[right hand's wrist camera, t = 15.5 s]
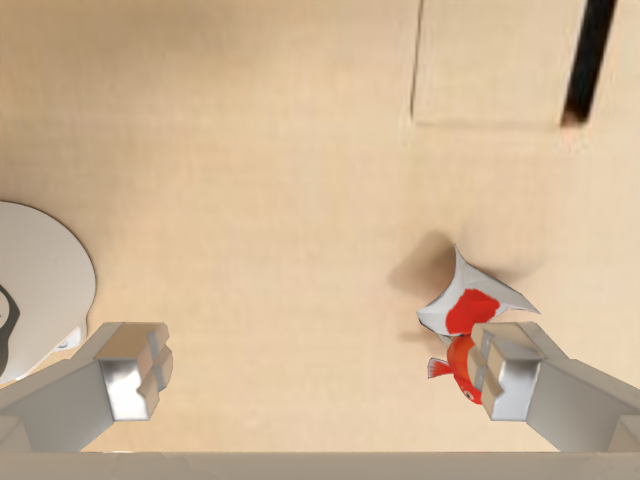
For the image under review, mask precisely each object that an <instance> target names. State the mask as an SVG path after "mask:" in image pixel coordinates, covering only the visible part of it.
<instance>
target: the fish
mask: <svg viewBox="0 0 640 480" xmlns="http://www.w3.org/2000/svg"><path fill="white" fill-rule="evenodd" d="M455 251H456V267H455V274H454V278H453V280H452V281H451V283H450V285H449V286H448V288H447V289H446V290H445V291H444V292H443V293H442V294H441V295H440V296H439V297H438V298H437V299H435V300H434V301H433V302H431V303H430V304H428V305H427V306H426V307H424V308H422V309H420V310H418V311H416V313H417V316H418V318H419V321H420V323H421V324H422V325H423V326H425V327H427V328H428V329H430V330H431V331H433V332H436V333H439V335H438V336H439V338H440V339H441V340H442V341H443V343H444V344H445V345H446V347H447V348H448V350H447V361H448V362H446V361H443V360H440V359H436V358H431V359H430V361H429V364H428V378H433V377H436V376H441V375H445V374H454V378H455V380H456V382H457V383H458V385H459V387H460V389H461V391H462V392H463V393H464V395H465V396H466V397H467V398H468V399H469V400H471V401H472V402H474V403H476V404H480V405H483V404H482V402H481V394H482V393H481V392H480V391H478V390H477V389H476V388H474V387H473V385H472V383H471V381H470V377H469V374H468V367H467V358H468V351H469V350H470V349H471V348H472V347H473V346H474V345H475V343H474V341H473V340H472V338H471V332H472V328H473V326H474V324H475V323H489V322H490V321H491V320H492V319H493V318H494V317H495V316H497V315H499V314H501V313H502V312H504V311H505V310H507V309H517V310H528V311H531V312H535V313H539V314H541V313H540V312H539V311H538V310H537V309H536V308H535V307H534V306H533V305H532V304H531V303H530V302H529V301H528V300H527V299H526V298H525V297H524V296H523V295H522V294H520V293H519V292H517V291H515V290H514V289H512V288H511V287H509V286H507V285H506V284H504V283H502V282H501V281H499V280H497V279H495V278H494V277H492V276H490V275H488V274H486V273H484V272H482V271H480V270H478V269H477V268H475V267H473V266H471V265H470V264H468V263H466V261H465V260H464V259H463V257H462V256H461V254H460V253H459V252H458V250H457V248H456V245H455ZM445 335H449V336H457V337H455V338H454V339H453V341H452V339H451V338H450V337H448V336H445Z"/></svg>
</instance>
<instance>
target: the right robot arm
mask: <svg viewBox="0 0 640 480" xmlns="http://www.w3.org/2000/svg"><path fill="white" fill-rule="evenodd" d="M95 289H96V281H95V274H94V269H93V266H92V263H91V261H90V259H89V257H88V255H87V253H86V251H85V249H84V248H83V246H82V245H81V244H80V242H79V241H78V240H77V239H76V238H75V236H74V235H73V234H72V233H71V232H70V231H69V230H68V229H66V228H65V227H64V226H63V225H62V224H60V223H59V222H58V221H56V220H55V219H53V218H51V217H50V216H48V215H46V214H44V213H42V212H40V211H38V210H36V209H33V208H30V207H27V206H24V205H20V204H16V203H9V202H2V201H0V383H1V384H4V383H7V382H9V381H11V380H13V379H16V380H19V381H17V382H15V383H13V384H11V385H9V386H6V387H4V388H2V389H0V480H640V389H638V388H635V387H633V386H631V385H629V384H627V383H625V382H623V381H621V380H619V379H617V378H614V377H612V376H610V375H608V374H606V373H604V372H602V371H600V370H598V369H596V368H593V367H591V366H589V365H587V364H585V363H583V362H581V361H579V360H577V359H569V358H568V357H567V356H566V354H565V353H564V352H563V351H562V350H561V349H560V348H559V347H558V346H557V345H556V344H555V343H554V342H553V340H552V339H551V338H550V337H549V336H548V335H547V334H546V333H545V332H544V331H543V330H542V329H541V328H540V326H539V325H538V324H537V323H534V322H509V323H475V324H474V326H473V328H472V332H471V338H472V340H473V341H474V343H475V345H474V346H473V347H472V348H471V349H470V350H469V351H468V358H467V367H468V374H469V377H470V381H471V383H472V385H473V387H474V388H476V389H477V390H478V391H480V392H481V393H482V394H481V402H482V404H483V406H484V408H485V410H486V412H487V414H488V416H489V418H490V420H491V421H522V422H526V423H527V424H528V425H529V426H530V427H532V428H533V429H534V430H535V431H536V432H538V433H539V434H540V435H541V436H543V437H544V438H545V439H546V440H547V441H549V442H550V443H551V444H552V445H554V446H555V447H556V448H557V449H559V450H560V451H561V452H79V451H80V450H82V449H83V448H84V447H85V446H87V445H88V444H89V443H90V442H91V441H93V440H94V439H95V438H96V437H98V436H99V435H100V434H101V433H103V432H104V431H105V430H106V429H107V428H109V427H110V426H111V425H112V424H113V423H114V422H117V421H149V420H150V418H151V416H152V414H153V412H154V410H155V408H156V406H157V404H158V402H159V394H158V393H159V392H160V391H162V390H163V389H164V388H166V387H167V385H168V383H169V380H170V378H171V373H172V369H173V357H172V351H171V350H170V349H169V348H168V347H167V346H166V345H165V343H166V341H167V340H168V338H169V333H168V328H167V325H166V324H165V323H155V322H106V323H103V324H102V325H101V326H100V328H99V329H98V330H97V331H96V332H95V333H94V334H93V335H92V336H91V337H90V338H89V339H88V340H87V342H86V343H85V344H84V345H83V346H82V347H81V348H80V349H79V350H78V351H77V352H76V353H75V354H74V356H73V357H72V358H71V359H63V360H61V361H59V362H57V363H55V364H53V365H51V366H49V367H47V368H44V369H42V370H40V371H38V372H36V373H34V374H32V375H30V376H28V377H25V376H27V375H28V374H29V373H30V372H31V371H32V370H33V369H35V368H36V367H37V366H38V365H39V364H40V363H41V362H42V361H43V360H45V359H46V358H47V357H48V356H49V355H50V354H51V353H52V352H57V351H61V350H66V349H71V348H75V347H77V346H79V345H80V344H81V343H82V342H83V341H84V340H85V339H86V336H87V325H86V316H87V313H88V311H89V309H90V307H91V305H92V302H93V299H94V296H95ZM24 377H25V378H24ZM22 378H23V379H22ZM20 379H21V380H20Z"/></svg>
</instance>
